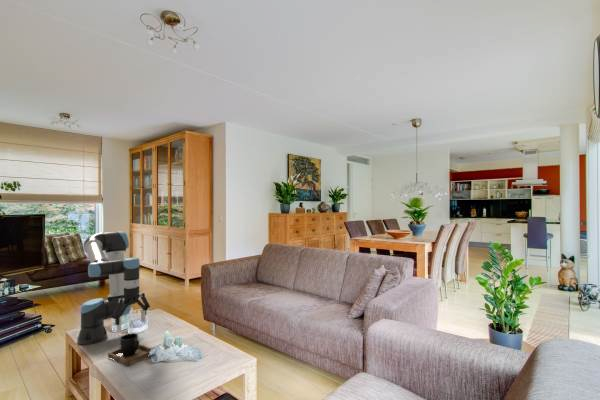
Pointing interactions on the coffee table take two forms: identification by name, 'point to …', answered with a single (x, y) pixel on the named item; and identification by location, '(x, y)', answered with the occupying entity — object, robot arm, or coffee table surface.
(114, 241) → the robot arm
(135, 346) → the mug
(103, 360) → the coffee table surface
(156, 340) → the coffee table surface
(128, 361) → the tray
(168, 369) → the coffee table surface
